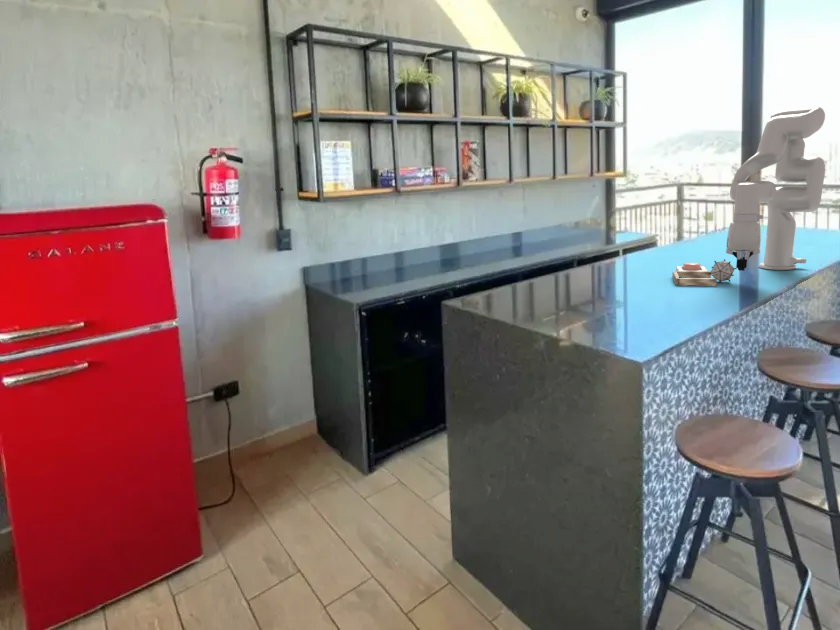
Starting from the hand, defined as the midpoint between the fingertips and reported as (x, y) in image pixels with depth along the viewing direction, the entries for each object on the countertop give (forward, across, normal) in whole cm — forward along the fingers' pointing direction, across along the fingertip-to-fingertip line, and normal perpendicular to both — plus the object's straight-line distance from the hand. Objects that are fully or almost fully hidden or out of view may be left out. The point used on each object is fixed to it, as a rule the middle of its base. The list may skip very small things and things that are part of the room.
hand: (741, 269), depth 209 cm
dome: (+3, +15, -13) cm, 20 cm away
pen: (+4, +15, 0) cm, 15 cm away
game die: (+5, +6, 0) cm, 8 cm away
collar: (+4, +15, -13) cm, 20 cm away
